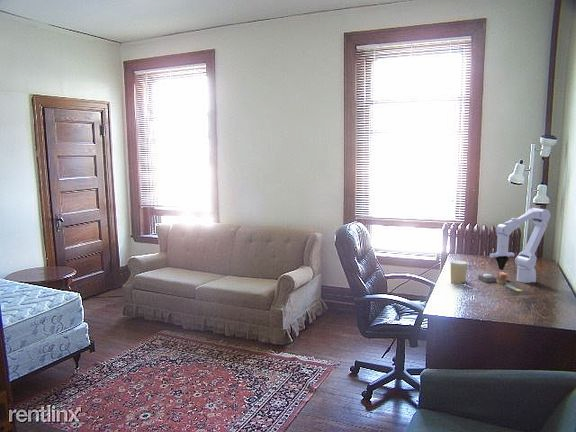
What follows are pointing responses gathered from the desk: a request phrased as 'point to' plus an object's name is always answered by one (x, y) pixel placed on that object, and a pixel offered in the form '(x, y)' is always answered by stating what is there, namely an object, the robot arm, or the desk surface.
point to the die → (503, 273)
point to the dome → (487, 275)
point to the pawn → (502, 279)
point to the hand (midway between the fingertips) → (501, 269)
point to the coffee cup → (458, 271)
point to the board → (493, 279)
